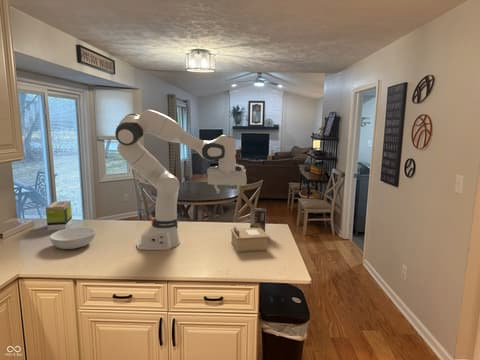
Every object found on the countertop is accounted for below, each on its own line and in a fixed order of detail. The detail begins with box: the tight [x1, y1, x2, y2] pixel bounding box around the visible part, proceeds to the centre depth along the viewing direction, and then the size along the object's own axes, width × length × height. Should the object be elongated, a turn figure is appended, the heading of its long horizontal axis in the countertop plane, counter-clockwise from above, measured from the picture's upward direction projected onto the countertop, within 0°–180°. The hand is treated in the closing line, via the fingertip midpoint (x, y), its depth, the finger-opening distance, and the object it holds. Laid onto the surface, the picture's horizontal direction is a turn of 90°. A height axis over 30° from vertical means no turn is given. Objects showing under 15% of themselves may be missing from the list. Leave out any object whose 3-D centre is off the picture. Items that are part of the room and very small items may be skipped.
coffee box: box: [249, 207, 267, 233], centre depth 186 cm, size 9×6×16 cm
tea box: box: [45, 200, 73, 232], centre depth 191 cm, size 15×10×15 cm, turn 14°
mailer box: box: [231, 232, 269, 254], centre depth 168 cm, size 16×14×7 cm
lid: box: [230, 226, 270, 240], centre depth 167 cm, size 17×15×3 cm
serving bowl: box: [49, 226, 96, 250], centre depth 163 cm, size 21×21×7 cm
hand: (226, 193), depth 164 cm, fingers open, 8 cm apart
